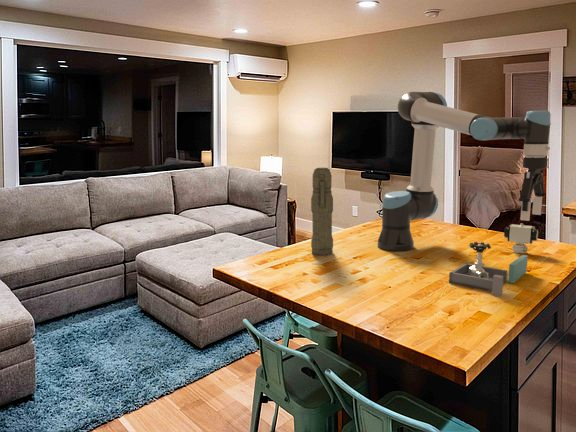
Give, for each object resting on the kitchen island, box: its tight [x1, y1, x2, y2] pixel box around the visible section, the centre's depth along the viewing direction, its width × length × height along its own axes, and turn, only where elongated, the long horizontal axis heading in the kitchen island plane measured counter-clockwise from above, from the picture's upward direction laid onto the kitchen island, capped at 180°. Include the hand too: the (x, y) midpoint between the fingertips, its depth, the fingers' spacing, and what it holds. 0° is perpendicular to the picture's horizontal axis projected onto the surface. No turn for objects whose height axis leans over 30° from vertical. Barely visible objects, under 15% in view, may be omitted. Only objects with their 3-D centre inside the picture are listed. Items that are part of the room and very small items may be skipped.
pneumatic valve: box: [503, 223, 539, 255], centre depth 196 cm, size 6×12×12 cm, turn 55°
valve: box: [469, 241, 492, 279], centre depth 161 cm, size 7×7×12 cm
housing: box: [448, 262, 508, 297], centre depth 159 cm, size 17×17×6 cm
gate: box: [507, 254, 529, 284], centre depth 164 cm, size 2×15×6 cm, turn 140°
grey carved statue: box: [310, 167, 334, 257], centre depth 197 cm, size 9×12×35 cm
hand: (530, 217), depth 171 cm, fingers open, 13 cm apart
